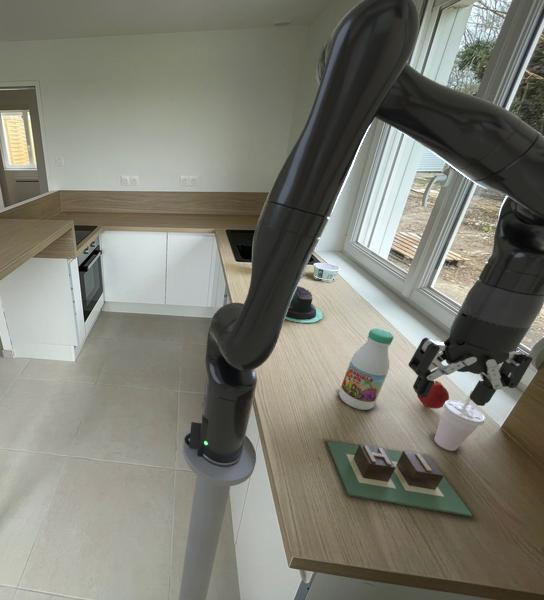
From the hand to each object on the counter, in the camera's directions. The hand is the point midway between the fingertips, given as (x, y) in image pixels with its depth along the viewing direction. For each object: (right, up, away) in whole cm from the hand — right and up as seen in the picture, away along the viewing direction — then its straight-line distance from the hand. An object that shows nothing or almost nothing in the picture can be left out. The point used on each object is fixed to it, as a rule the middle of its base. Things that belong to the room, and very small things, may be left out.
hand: (447, 398), depth 55 cm
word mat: (-3, -18, +8) cm, 20 cm away
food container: (+40, +28, +109) cm, 119 cm away
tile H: (-7, -17, +9) cm, 20 cm away
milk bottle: (+3, -9, +28) cm, 29 cm away
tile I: (+1, -18, +8) cm, 19 cm away
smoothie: (+15, -15, +16) cm, 26 cm away
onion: (+20, -10, +26) cm, 34 cm away
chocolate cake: (+9, +12, +74) cm, 75 cm away
